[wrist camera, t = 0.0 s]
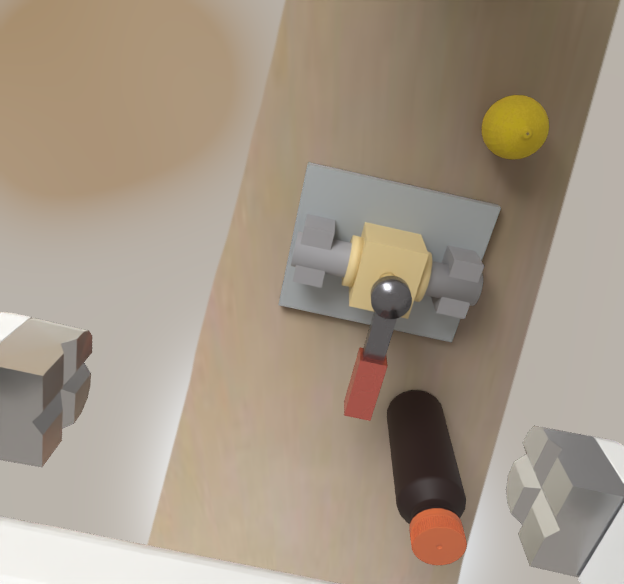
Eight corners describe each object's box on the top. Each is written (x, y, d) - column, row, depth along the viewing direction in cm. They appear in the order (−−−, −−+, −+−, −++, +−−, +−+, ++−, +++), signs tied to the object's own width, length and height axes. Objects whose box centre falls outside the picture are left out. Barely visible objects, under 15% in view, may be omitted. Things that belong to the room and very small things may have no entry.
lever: (339, 399, 56) (339, 414, 53) (375, 270, 50) (377, 280, 48) (374, 407, 56) (375, 421, 54) (414, 278, 50) (417, 289, 48)
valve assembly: (279, 300, 62) (268, 343, 53) (308, 162, 56) (300, 184, 47) (449, 337, 63) (467, 385, 54) (498, 204, 57) (526, 234, 48)
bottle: (390, 436, 69) (405, 576, 51) (383, 392, 67) (396, 522, 49) (444, 430, 69) (480, 570, 50) (439, 385, 66) (475, 515, 48)
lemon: (536, 140, 54) (566, 155, 46) (480, 158, 55) (500, 175, 47) (526, 83, 52) (556, 89, 44) (468, 103, 53) (487, 112, 45)
